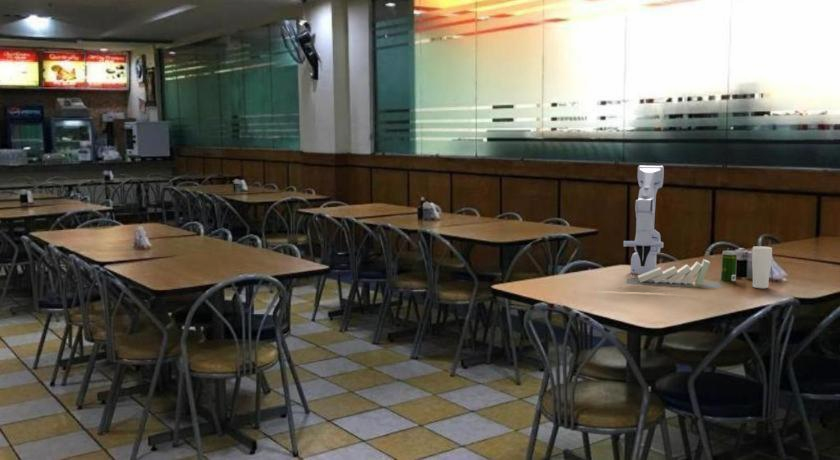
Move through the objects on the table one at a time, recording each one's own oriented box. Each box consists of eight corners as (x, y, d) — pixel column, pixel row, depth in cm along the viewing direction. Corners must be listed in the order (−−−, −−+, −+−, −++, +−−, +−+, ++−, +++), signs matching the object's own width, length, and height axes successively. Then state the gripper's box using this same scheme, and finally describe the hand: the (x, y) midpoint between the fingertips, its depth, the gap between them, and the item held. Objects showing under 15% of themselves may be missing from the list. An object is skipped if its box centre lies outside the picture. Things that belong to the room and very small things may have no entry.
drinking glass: (749, 288, 301) (751, 248, 300) (751, 285, 307) (753, 245, 306) (769, 289, 298) (771, 249, 296) (771, 286, 304) (773, 246, 302)
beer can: (738, 282, 313) (739, 251, 311) (730, 284, 309) (732, 252, 308) (725, 280, 317) (726, 249, 315) (717, 282, 314) (719, 251, 312)
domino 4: (681, 281, 304) (697, 263, 302) (680, 279, 308) (696, 261, 306) (685, 284, 304) (702, 266, 301) (684, 282, 308) (700, 264, 306)
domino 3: (667, 279, 305) (687, 266, 303) (666, 277, 310) (686, 264, 307) (670, 284, 305) (691, 270, 303) (669, 281, 310) (690, 268, 307)
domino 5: (695, 283, 303) (704, 261, 301) (694, 281, 307) (703, 259, 306) (701, 285, 302) (710, 262, 301) (699, 283, 307) (708, 260, 305)
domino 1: (638, 277, 307) (661, 269, 305) (637, 275, 312) (660, 266, 310) (640, 282, 307) (663, 273, 305) (639, 280, 312) (662, 271, 310)
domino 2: (653, 278, 306) (675, 268, 304) (652, 276, 311) (674, 265, 308) (655, 283, 306) (677, 272, 304) (654, 281, 311) (676, 270, 308)
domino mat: (627, 285, 306) (627, 283, 306) (626, 280, 316) (626, 278, 316) (721, 290, 298) (721, 287, 298) (718, 284, 308) (718, 282, 308)
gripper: (624, 230, 305) (622, 266, 307) (664, 232, 302) (663, 268, 303) (623, 228, 312) (622, 263, 313) (663, 229, 308) (662, 265, 310)
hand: (642, 265), depth 309 cm, fingers closed
